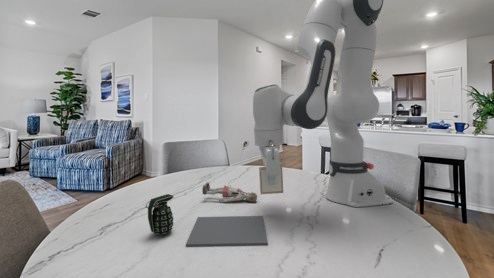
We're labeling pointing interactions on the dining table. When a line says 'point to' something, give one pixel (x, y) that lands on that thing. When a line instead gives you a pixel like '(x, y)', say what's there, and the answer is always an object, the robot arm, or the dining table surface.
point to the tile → (264, 182)
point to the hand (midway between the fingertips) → (271, 182)
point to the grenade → (160, 215)
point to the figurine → (229, 193)
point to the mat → (228, 231)
